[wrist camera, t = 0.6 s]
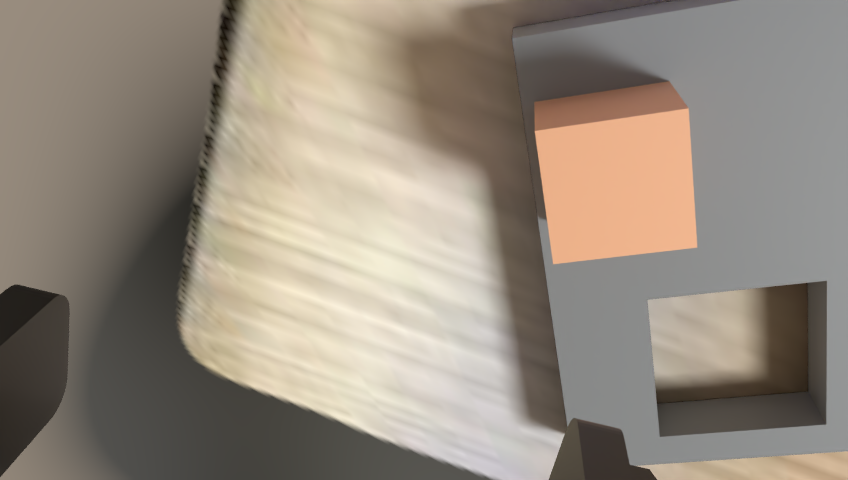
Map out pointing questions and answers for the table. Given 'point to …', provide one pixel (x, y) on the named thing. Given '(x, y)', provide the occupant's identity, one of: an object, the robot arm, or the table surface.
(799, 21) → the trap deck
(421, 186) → the table surface
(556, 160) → the block
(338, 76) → the table surface
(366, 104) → the table surface
